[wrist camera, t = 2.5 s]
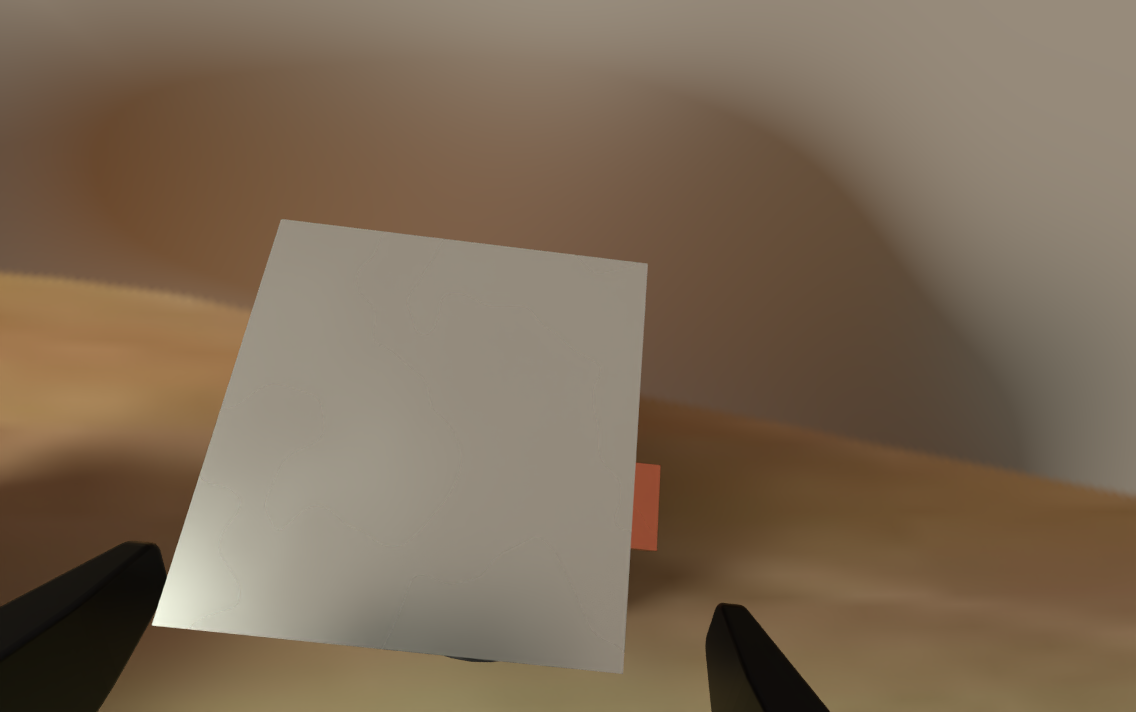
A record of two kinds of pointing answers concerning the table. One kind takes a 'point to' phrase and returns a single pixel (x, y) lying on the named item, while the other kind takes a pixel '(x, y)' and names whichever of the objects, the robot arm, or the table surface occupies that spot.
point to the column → (423, 453)
